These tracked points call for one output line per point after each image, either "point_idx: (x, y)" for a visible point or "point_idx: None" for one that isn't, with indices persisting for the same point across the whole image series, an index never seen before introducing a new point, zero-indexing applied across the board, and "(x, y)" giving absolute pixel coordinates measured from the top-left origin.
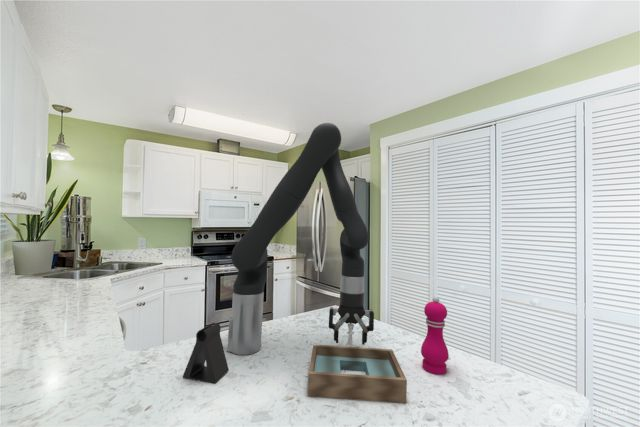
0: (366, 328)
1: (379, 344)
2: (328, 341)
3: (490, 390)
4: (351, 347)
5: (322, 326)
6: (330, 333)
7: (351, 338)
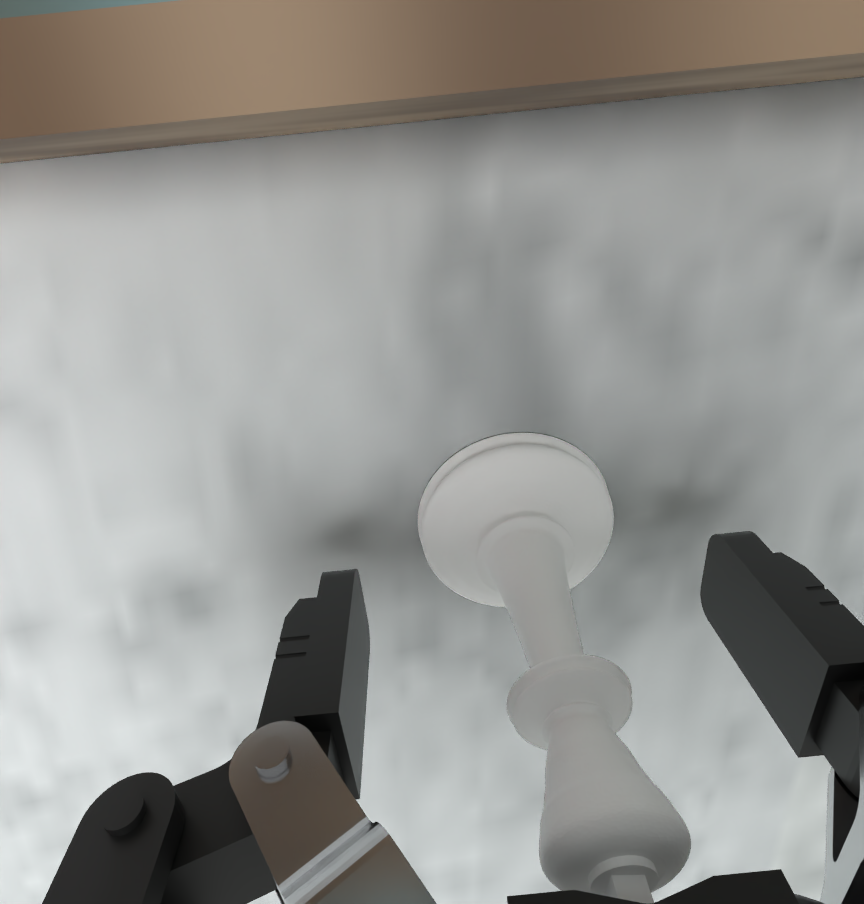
0: (246, 814)
1: (191, 727)
2: (733, 670)
3: None
4: (604, 32)
5: None
6: (686, 810)
7: (532, 622)
